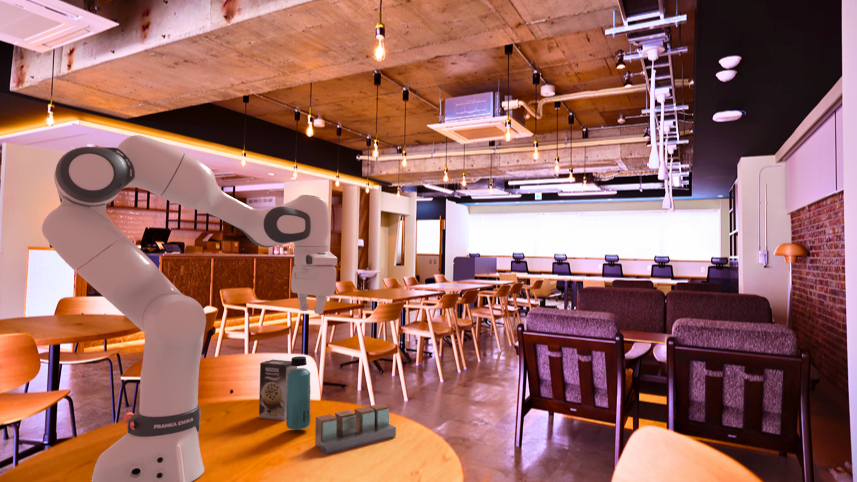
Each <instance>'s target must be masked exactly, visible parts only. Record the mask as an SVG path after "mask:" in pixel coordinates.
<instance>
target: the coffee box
mask: <svg viewBox="0 0 857 482" xmlns="http://www.w3.org/2000/svg"><path fill="white" fill-rule="evenodd" d="M259 365H260V366H259V367H260V368H259V402H258V403H259V404H258V410H259V411H258V418H261V419H269V420H276V421H287V420H286V419H287V416H286V415H287V410H286V408H287V407H286V406H287V374H288V372H289V371H291V370H292V369H296V368H298V366H291V360H281V359H270V360H265V361H263V362H262V361H261V362H260V363H259Z"/></svg>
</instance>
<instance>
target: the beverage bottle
mask: <svg viewBox="0 0 857 482" xmlns="http://www.w3.org/2000/svg"><path fill="white" fill-rule="evenodd" d="M290 361H291V366H297V368H296V369H292V370H291V371H289V372H288V374H287V406H286V407H287V408H286V410H287V415H286V416H287V419H286V420H285V424H286V428H287V429H289V430H290V429H291V430H302V429H307V428H308V427H309V426H310V425H311V422H312V421H311V420H312V419H311V416H312V415H311V414H312V413H311V408H312V407H311V402H312V401H311V371H309V370H308V369H307V368H304V366H307V357H306V356H301V355H299V356H294V357H291V360H290Z"/></svg>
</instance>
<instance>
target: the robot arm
mask: <svg viewBox="0 0 857 482" xmlns="http://www.w3.org/2000/svg"><path fill="white" fill-rule="evenodd" d="M53 177H54V184H55V187H56V189H57V193H58V196H59V201H60V205H58V207H57V208H54V209H53V210H51V212H50V213H49V214H48V215H46V217H45V218H44V220H43V223H42V225H41V231H42V234H43V236H44V238H45V239H46V240H47V242H48V243H49V245H50V246H51V247H52V248H53V250H54V251H55V252H56V253H57V255H58V256H59V257H60V258H61V259H62V260H63V261H64V262H65V264H67V265H68V266H69V267H70V268H71V269H72V270H73V271H75V273H77V274H78V275H79V276H80V277H81V278H82V279H83V280H84V281H85V282H87V283H88V284H89V285H90V286H91V287H92V288H93V289H95V290H96V292H97V293H99V294H100V295H101V296H102V297H103V298H105V300H107V301H108V302H109V303H110V304H111V305H113V306H114V307H115V309H117V310H118V311H119V312H120V313H121V314H123V316H125V317H126V318H127V319H128V320H129V321H131V323H133V325H135V326H136V327H137V328H138V329H139V330H141V332H142V333H144V345H143V346H144V348H143V355H142V365H141V371H140V377H139V378H140V379H139V380H140V381H139V383H140V384H139V411H137V413H133V412H131V411H130V412H126V413H125V415H124V416H123V422H124V423H125V424H126V425H127V433H126V434H124V435H122V437H121V438H119V439H118V440H117V441H115V442H114V443H113V444H112V445H110V447H108V448H107V449H106V450H104V451H103V452H102V453H101V454H100V455H99V457H98V459H96V462H95V465H94V468H93V470H92V471H93V473H92V476H91V477H92V480H91V481H92V482H193V481H195V480H197V479H199V477H201V476H202V475H203V474H204V472H205V465H204V463H203V459H202V455H201V449H200V448H201V447H200V441H199V431H200V428H201V408H200V407H201V406H200V405H199V404H198V403H199V402H198V401H199V398H198V396H199V375H200V374H199V372H200V371H199V370H200V364H201V363H200V362H201V357H202V352H203V345H204V337H205V329H206V325H207V315H206V312H205V309H204V308H203V306H202V305H201V303H200V302H198V300H196V299H194V298H193V297H191V296H188V295H185V294H183V293H182V292H181V291H180V289H178V288H177V287H176V286H175V285H174V284H173V282H171V280H169V279H168V278H167V276H166V275H165V274H164V273H163V272H162V271H161V270H160V269H159V267H158V266H157V265H156V264H155V262H154V261H152V259H150V257H148V256H147V255H146V253H145V252H143V250H141V249H140V248H139V247H138V246H137V245H136V244H135V242H133V241H132V239H130V238H129V237H128V235H125V233H124V232H123V231H121V229H120V228H119V227H117V225H115V223H113V221H112V220H111V218H110V217H109V215H108V213H107V207H109V204H111V203H112V202H113V201H114V200H115V199H116V198H118V196H119V194H120V193H121V192H122V190H123V189H127V188H137V189H141V190H146V191H148V192H150V193H152V194H154V195H156V196H157V197H160V198H162V199H165V200H166V201H169V202H172V203H175V204H177V205H180V206H183V207H186V208H190V209H193V210H196V211H199V212H203V213H206V214H208V215H211V216H212V217H215V218H217V219H219V220H221V221H223V222H224V223H227V224H229V225H231V226H232V227H235V228H237V229H238V230H240V231H241V232H242V233H244V235H245V236H246V238H248V239H249V241H251V243H253V244H255V246H258V247H261V248H265V249H266V248H273V247H276V246H283V245H287V244H290V243H293V245H294V256H293V257H294V259H293V260H294V262H293V263H294V266H293V267H292V271H291V278H290V279H291V280H290V283H291V284H290V289H291V293H293V294H297V299H298V303H299V311H301V312H308V311H309V303H308V300H307V299H308V296H309V295H310V296H315V300H316V303H315V306H314V311H313V312H314V314H315V315H316V314H318V315H322V314H324V311H325V310H324V307H325V304H326V301H327V297H332V296H334V295H335V294H334V293H335V291H336V284H337V282H336V281H337V270H336V269H337V268H336V267H335V266H337V265H338V257H337V256H335V254H333V253H332V251H330V243H329V234H330V231H331V230H330V229H331V228H330V227H331V226H330V210H329V206H328V203H327V202H326V200H324V199H323V198H322V197H319V196H315V195H309V194H301V195H299V196H297V197H296V198H295V199H293V200H290V201H289V202H287V203H282V204H279V205H277V206H272V207H270V208H266V209H260V208H254V207H251V206H250V205H247V204H246V203H244V202H242V201H240V200H238V199H237V198H234V197H233V196H230V195H229V194H227V193H226V192H224V191H223V190H222V188H220V187H219V185H218V183H217V181H216V179H217V178H216V176H215V174H214V172H213V170H212V169H211V168H210V167H208V166H207V165H206V164H205V163H203V162H202V161H201V160H199V159H197V158H195V157H194V156H192V155H190V154H188V153H187V152H184V151H182V150H180V149H179V148H176V147H173V146H172V145H169V144H166V143H164V142H162V141H159V140H155V139H153V138H151V137H148V136H143V135H140V134H139V135H138V134H137V135H136V134H135V135H131V136H129V137H126V138H125V139H124V140H122V141H121V142H120V143H119V144H118V146H117V147H114V146H113V147H106V146H105V147H103V146H102V147H101V146H81V147H76V148H73V149H71V150H69V151H67V152H66V153H64V154H63V155H62V156H61V158H60V159H59V160H58V162H57V164H56V167H55V170H54V175H53Z"/></svg>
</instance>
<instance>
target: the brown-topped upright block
mask: <svg viewBox="0 0 857 482" xmlns="http://www.w3.org/2000/svg"><path fill="white" fill-rule="evenodd" d="M334 416H335V417H336V420H337V425H336V437H339V436H343V435H347V434H351V433H355V432H356V416H355V411H354V412H353V411H351V410H350V409H347V410H342V411H337V412H335V413H334Z"/></svg>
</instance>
